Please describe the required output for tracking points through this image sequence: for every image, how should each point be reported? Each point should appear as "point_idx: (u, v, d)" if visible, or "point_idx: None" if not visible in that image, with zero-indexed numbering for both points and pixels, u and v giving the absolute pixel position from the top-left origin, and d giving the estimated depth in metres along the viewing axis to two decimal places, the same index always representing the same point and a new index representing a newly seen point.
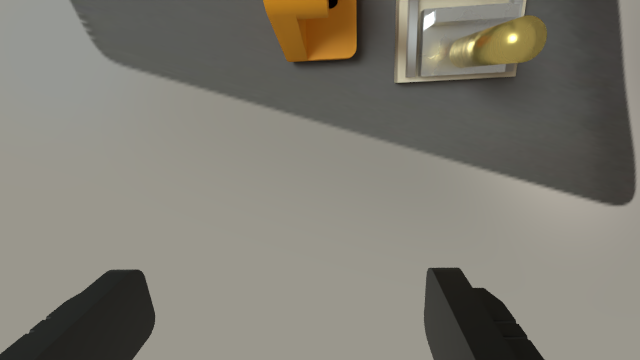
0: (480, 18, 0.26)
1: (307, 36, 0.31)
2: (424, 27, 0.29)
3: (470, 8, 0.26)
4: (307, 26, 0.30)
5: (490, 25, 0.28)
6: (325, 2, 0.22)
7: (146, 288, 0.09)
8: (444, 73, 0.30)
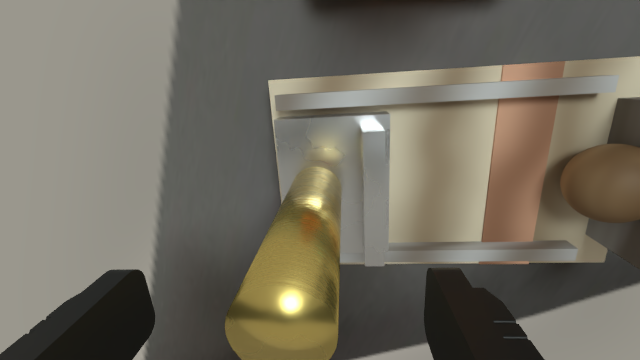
0: (365, 210, 0.15)
1: None
2: (358, 117, 0.15)
3: (382, 192, 0.14)
4: None
5: (357, 224, 0.17)
6: None
7: (146, 288, 0.09)
8: (281, 161, 0.16)
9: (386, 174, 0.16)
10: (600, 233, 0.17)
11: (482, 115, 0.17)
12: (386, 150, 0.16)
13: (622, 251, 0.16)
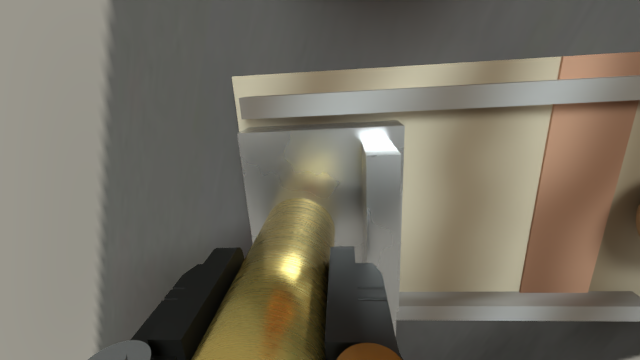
0: None
1: None
2: (359, 130, 0.11)
3: (395, 242, 0.10)
4: None
5: None
6: None
7: None
8: (249, 191, 0.12)
9: None
10: None
11: (529, 126, 0.12)
12: None
13: None
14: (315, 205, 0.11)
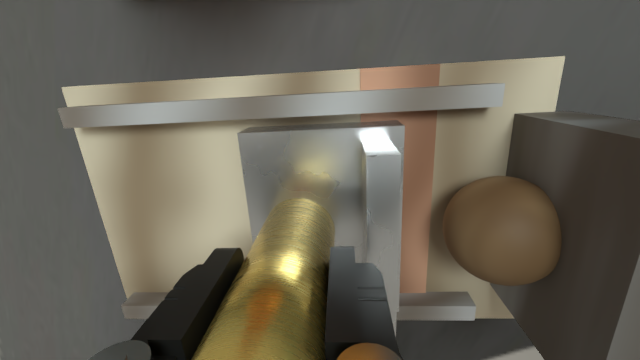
0: None
1: None
2: (359, 130, 0.11)
3: (395, 242, 0.10)
4: None
5: None
6: None
7: None
8: (249, 191, 0.12)
9: None
10: (502, 288, 0.13)
11: None
12: None
13: (520, 318, 0.12)
14: (315, 205, 0.11)
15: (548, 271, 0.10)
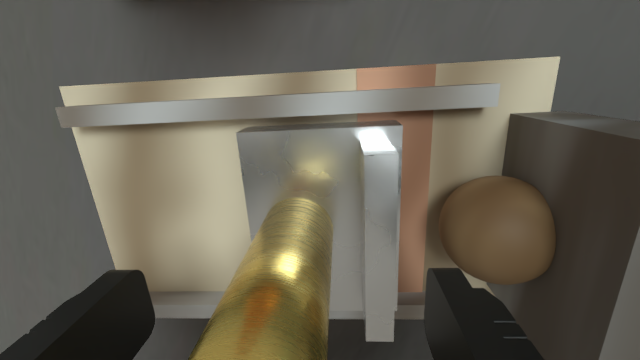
0: (367, 266, 0.10)
1: None
2: (357, 129, 0.11)
3: (393, 241, 0.10)
4: None
5: (354, 274, 0.13)
6: None
7: (146, 288, 0.09)
8: (248, 190, 0.12)
9: None
10: (498, 287, 0.13)
11: None
12: None
13: (516, 317, 0.12)
14: (313, 204, 0.11)
15: (542, 269, 0.10)
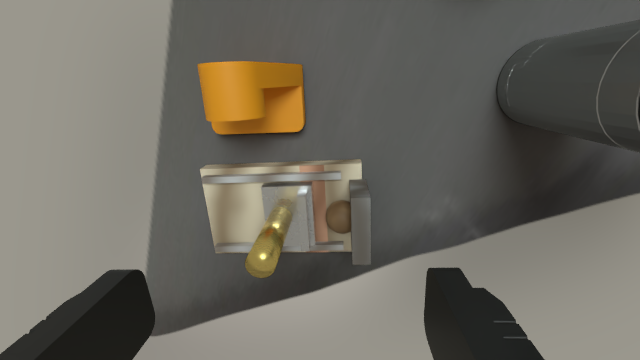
0: (299, 227, 0.35)
1: None
2: (297, 186, 0.36)
3: (306, 219, 0.35)
4: None
5: (300, 232, 0.37)
6: (207, 119, 0.26)
7: (146, 288, 0.09)
8: (264, 204, 0.37)
9: (311, 210, 0.36)
10: None
11: None
12: (310, 200, 0.36)
13: (351, 245, 0.37)
14: (285, 209, 0.36)
15: (348, 227, 0.35)
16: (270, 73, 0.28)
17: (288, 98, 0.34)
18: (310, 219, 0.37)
